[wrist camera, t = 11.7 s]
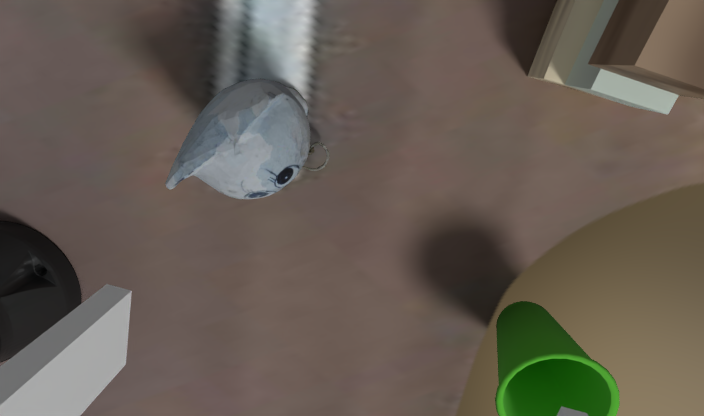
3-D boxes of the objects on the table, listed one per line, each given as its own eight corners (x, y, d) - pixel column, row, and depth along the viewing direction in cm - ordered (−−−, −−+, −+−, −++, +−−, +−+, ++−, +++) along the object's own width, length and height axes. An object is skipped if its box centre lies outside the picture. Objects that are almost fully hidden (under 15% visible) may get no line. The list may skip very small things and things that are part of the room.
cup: (537, 265, 42) (579, 333, 31) (588, 332, 43) (644, 418, 33) (458, 312, 44) (472, 389, 34) (509, 374, 46) (537, 465, 36)
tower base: (526, 76, 37) (543, 78, 32) (567, -28, 34) (592, -42, 29) (619, 102, 36) (650, 109, 32) (668, 0, 34) (710, -9, 29)
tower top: (564, 84, 32) (590, 89, 27) (619, -34, 29) (659, -52, 24) (630, 106, 32) (667, 114, 27) (691, -11, 29) (745, -24, 24)
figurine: (259, 190, 43) (186, 255, 29) (214, 104, 41) (110, 128, 27) (349, 151, 40) (316, 201, 26) (306, 57, 38) (245, 57, 24)
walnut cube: (587, 64, 27) (634, 65, 21) (639, -42, 25) (706, -72, 19) (681, 95, 27) (753, 105, 21) (741, -8, 25) (838, -28, 19)
